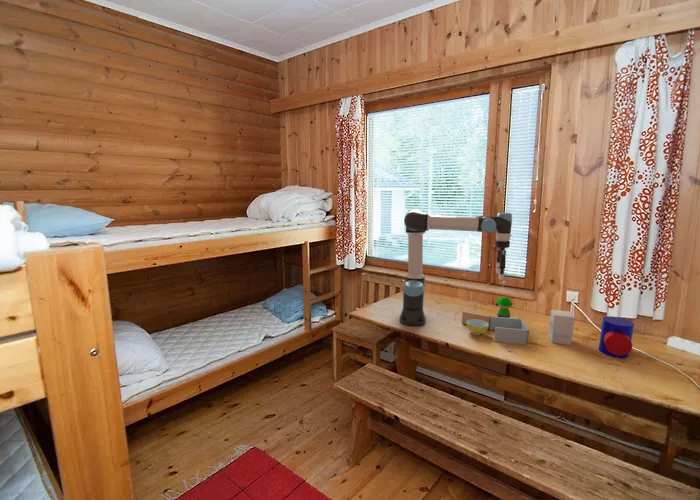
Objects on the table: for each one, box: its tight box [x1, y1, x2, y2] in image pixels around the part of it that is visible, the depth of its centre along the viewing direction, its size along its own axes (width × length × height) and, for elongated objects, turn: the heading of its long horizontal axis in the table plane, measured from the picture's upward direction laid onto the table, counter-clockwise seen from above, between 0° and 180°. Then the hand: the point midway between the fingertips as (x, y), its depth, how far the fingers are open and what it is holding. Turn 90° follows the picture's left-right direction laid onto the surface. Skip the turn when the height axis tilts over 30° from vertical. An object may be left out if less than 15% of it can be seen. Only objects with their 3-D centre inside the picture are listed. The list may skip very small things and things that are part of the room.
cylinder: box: [598, 315, 635, 359], centre depth 171 cm, size 20×12×16 cm, turn 150°
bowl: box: [465, 319, 489, 336], centre depth 193 cm, size 11×12×6 cm
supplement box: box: [548, 309, 575, 346], centre depth 184 cm, size 9×9×15 cm
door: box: [461, 310, 491, 330], centre depth 203 cm, size 2×16×7 cm, turn 57°
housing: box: [489, 315, 530, 345], centre depth 189 cm, size 16×16×8 cm
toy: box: [495, 296, 514, 318], centre depth 209 cm, size 9×9×15 cm
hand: (499, 276), depth 206 cm, fingers open, 13 cm apart
